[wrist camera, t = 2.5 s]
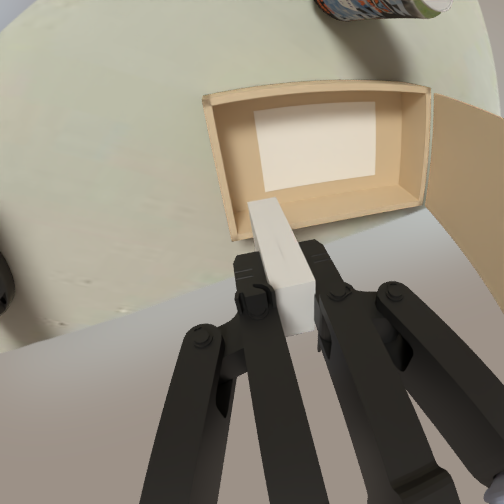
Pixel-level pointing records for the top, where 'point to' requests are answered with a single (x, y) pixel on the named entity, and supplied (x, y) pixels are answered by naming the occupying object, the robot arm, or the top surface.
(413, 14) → the beverage can
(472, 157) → the lid
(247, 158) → the box
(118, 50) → the top surface
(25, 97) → the top surface
